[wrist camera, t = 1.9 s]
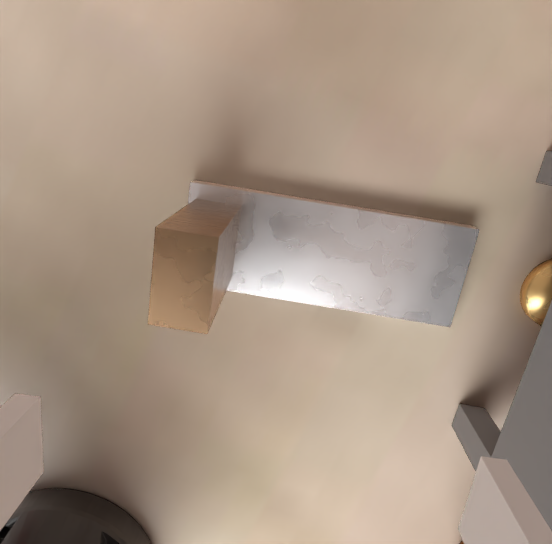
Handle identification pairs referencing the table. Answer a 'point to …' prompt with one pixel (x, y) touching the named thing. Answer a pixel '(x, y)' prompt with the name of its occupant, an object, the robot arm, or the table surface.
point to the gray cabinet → (520, 416)
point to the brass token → (537, 292)
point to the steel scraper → (303, 257)
